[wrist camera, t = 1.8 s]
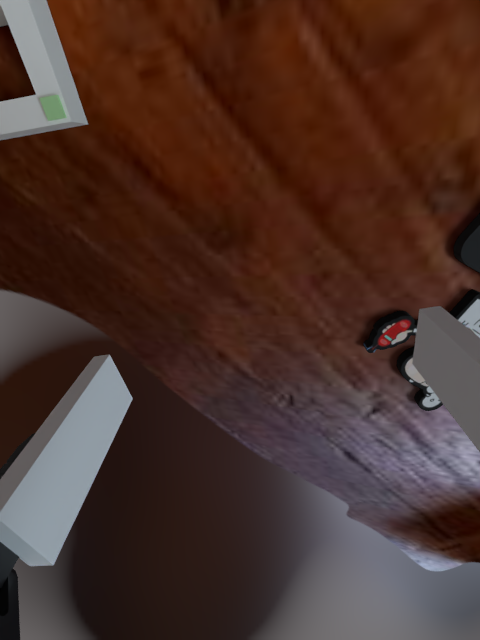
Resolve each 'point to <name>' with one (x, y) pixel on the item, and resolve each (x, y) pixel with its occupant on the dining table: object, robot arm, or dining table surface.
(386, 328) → the sign
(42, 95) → the frame
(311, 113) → the dining table surface
